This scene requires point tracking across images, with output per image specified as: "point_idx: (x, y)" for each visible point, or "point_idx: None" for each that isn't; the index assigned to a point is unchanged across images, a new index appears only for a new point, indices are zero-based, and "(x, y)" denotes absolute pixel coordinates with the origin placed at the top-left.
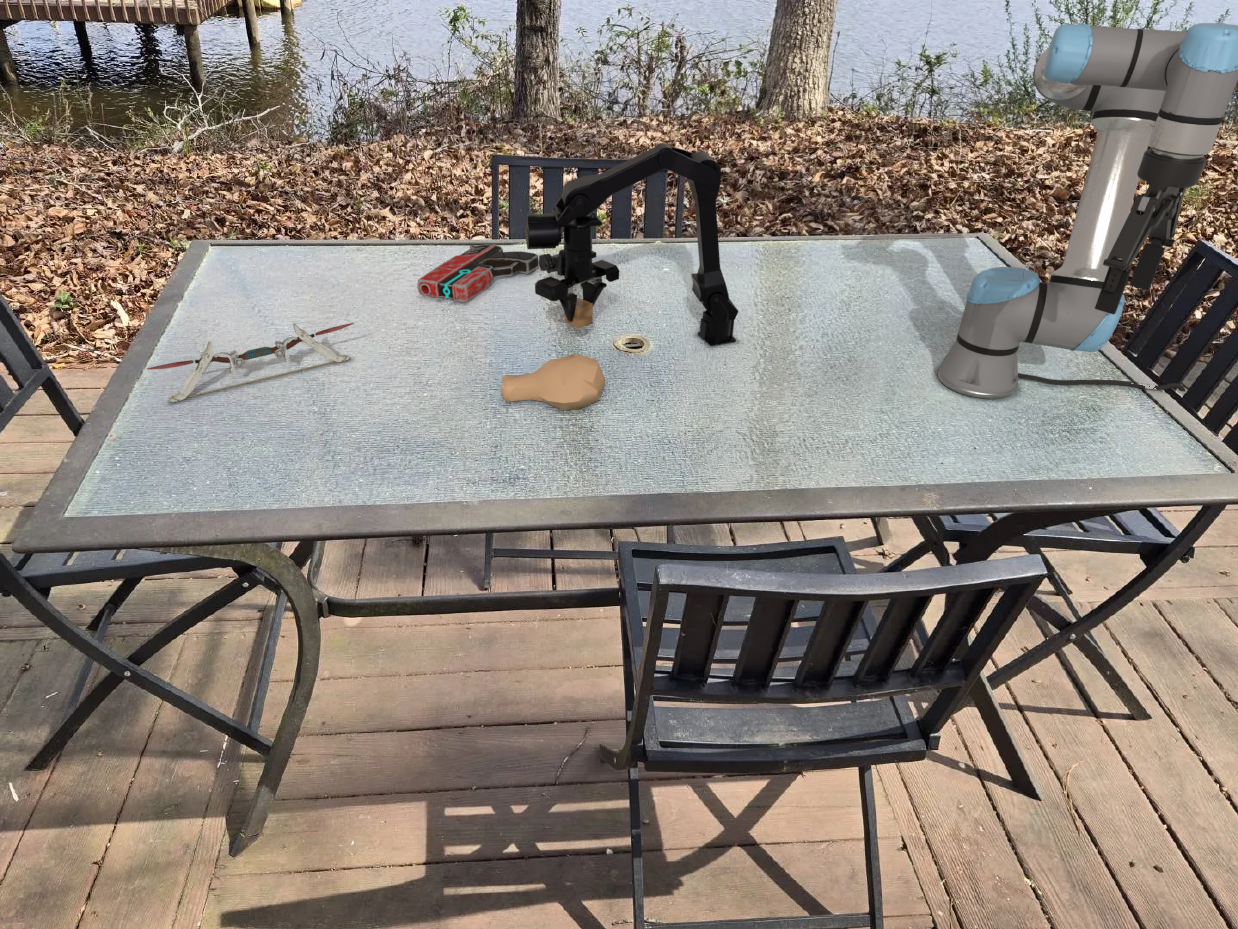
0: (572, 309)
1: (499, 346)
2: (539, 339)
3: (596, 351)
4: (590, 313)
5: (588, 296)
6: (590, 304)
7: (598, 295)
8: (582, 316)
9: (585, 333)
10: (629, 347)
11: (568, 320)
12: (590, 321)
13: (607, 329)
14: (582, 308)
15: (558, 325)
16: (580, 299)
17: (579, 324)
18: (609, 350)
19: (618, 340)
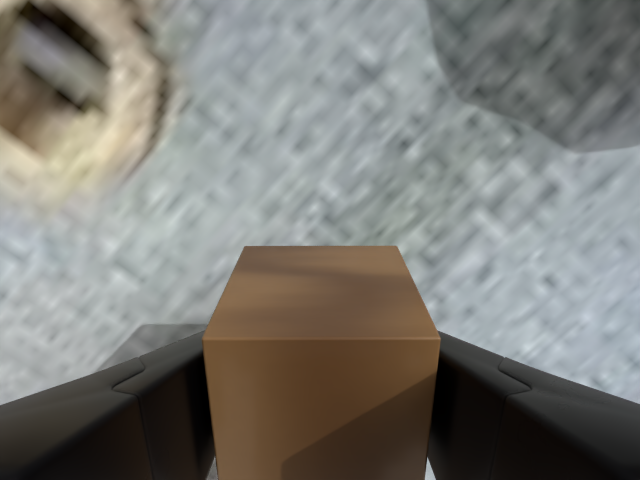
0: (499, 361)
1: None
2: None
3: (280, 149)
4: (255, 285)
5: (174, 457)
6: (238, 338)
7: (68, 388)
8: (360, 283)
9: (193, 329)
10: (92, 56)
11: None
12: (265, 254)
13: (73, 296)
14: (365, 330)
15: None
16: (241, 477)
17: (387, 257)
18: (214, 108)
19: (96, 168)
